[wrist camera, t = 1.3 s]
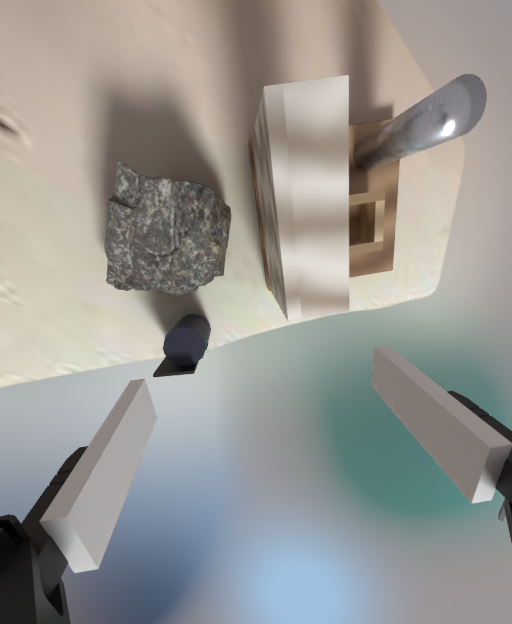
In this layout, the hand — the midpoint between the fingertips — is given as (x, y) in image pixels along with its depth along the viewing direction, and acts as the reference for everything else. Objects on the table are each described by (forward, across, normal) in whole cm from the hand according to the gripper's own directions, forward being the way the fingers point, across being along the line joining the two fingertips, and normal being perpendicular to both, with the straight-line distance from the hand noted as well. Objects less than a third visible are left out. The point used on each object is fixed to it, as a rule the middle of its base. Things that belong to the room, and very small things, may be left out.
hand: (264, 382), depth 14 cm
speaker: (+27, -10, -7) cm, 29 cm away
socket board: (+26, +13, +9) cm, 31 cm away
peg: (+24, +18, +16) cm, 34 cm away
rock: (+27, -9, +8) cm, 29 cm away
